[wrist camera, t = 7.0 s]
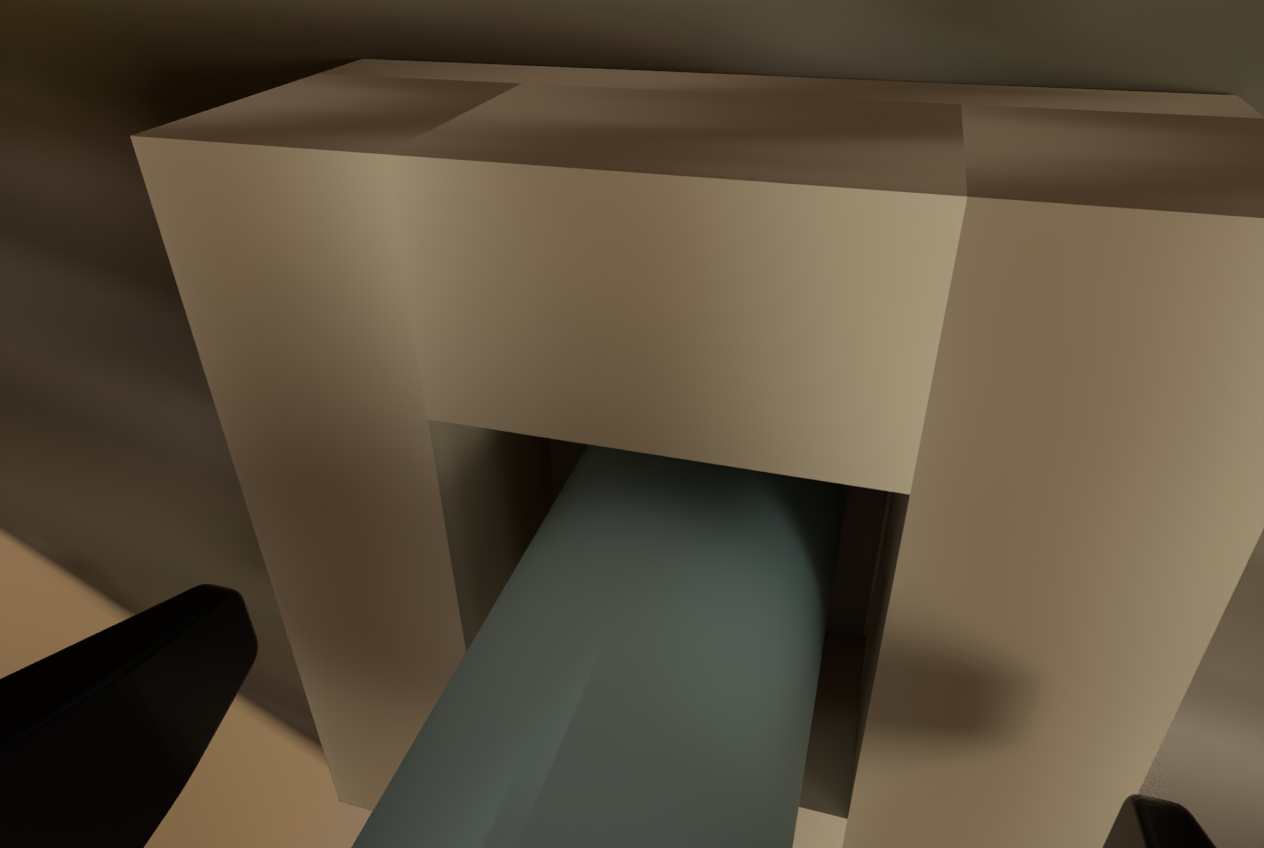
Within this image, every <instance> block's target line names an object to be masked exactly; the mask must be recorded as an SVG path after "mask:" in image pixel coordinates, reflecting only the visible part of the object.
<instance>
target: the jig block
mask: <svg viewBox="0 0 1264 848" xmlns="http://www.w3.org/2000/svg"><path fill="white" fill-rule="evenodd" d="M130 137H131V140H132V143H133V146H134V150H135V153H136V156H137V159H138V162H139V166H140V169H141V172H142V175H143V178H144V181H145V185H146V188H147V191H148V194H149V197H150V201H151V204H152V207H153V210H154V213H155V216H156V220H157V223H158V226H159V229H160V232H161V236H162V239H163V242H164V245H165V248H166V251H167V255H168V258H169V261H170V264H171V267H172V270H173V274H174V277H175V280H176V283H177V286H178V290H179V293H180V296H181V299H182V302H183V305H184V309H185V312H186V315H187V318H188V321H189V325H190V328H191V331H192V334H193V337H194V340H195V344H196V347H197V350H198V353H199V356H200V360H201V363H202V366H203V369H204V372H205V375H206V379H207V382H208V385H209V388H210V391H211V395H212V398H213V401H214V404H215V407H216V410H217V414H218V417H219V420H220V423H221V426H222V429H223V433H224V436H225V439H226V442H227V445H228V449H229V452H230V455H231V458H232V461H233V464H234V468H235V471H236V474H237V477H238V480H239V484H240V487H241V490H242V493H243V496H244V499H245V503H246V506H247V509H248V512H249V515H250V519H251V522H252V525H253V528H254V531H255V534H256V538H257V541H258V544H259V547H260V550H261V553H262V557H263V560H264V563H265V566H266V569H267V573H268V576H269V579H270V582H271V585H272V588H273V592H274V595H275V598H276V601H277V604H278V608H279V611H280V614H281V617H282V620H283V623H284V627H285V630H286V633H287V636H288V639H289V643H290V646H291V649H292V652H293V655H294V658H295V662H296V665H297V668H298V671H299V674H300V677H301V681H302V684H303V687H304V690H305V693H306V697H307V700H308V703H309V706H310V709H311V712H312V716H313V719H314V722H315V725H316V728H317V732H318V735H319V738H320V741H321V744H322V747H323V751H324V754H325V757H326V760H327V763H328V767H329V770H330V773H331V776H332V779H333V782H334V786H335V789H336V792H337V795H338V798H339V801H341V802H344V803H347V804H351V805H354V806H358V807H362V808H365V809H368V810H372V811H373V810H374V808H375V807H376V805H377V803H378V802H379V800H380V798H381V796H382V795H383V793H384V791H385V790H386V788H387V786H388V785H389V783H390V781H391V779H392V778H393V776H394V774H395V773H396V771H397V769H398V767H399V766H400V764H401V762H402V761H403V759H404V757H405V756H406V754H407V752H408V750H409V749H410V747H411V745H412V744H413V742H414V740H415V739H416V737H417V735H418V733H419V732H420V730H421V728H422V727H423V725H424V723H425V722H426V720H427V718H428V716H429V715H430V713H431V711H432V710H433V708H434V706H435V704H436V703H437V701H438V699H439V698H440V696H441V694H442V693H443V691H444V689H445V687H446V686H447V684H448V682H449V681H450V679H451V677H452V676H453V674H454V672H455V670H456V669H457V667H458V665H459V664H460V662H461V660H462V659H463V657H464V655H465V653H466V652H467V650H468V648H469V647H470V645H471V643H472V642H473V640H474V638H475V636H476V635H477V633H478V631H479V630H480V628H481V626H482V624H483V623H484V621H485V619H486V618H487V616H488V614H489V613H490V611H491V609H492V607H493V606H494V604H495V602H496V601H497V599H498V597H499V596H500V594H501V592H502V590H503V589H504V587H505V585H506V584H507V582H508V580H509V579H510V577H511V575H512V573H513V572H514V570H515V568H516V567H517V565H518V563H519V562H520V560H521V558H522V556H523V555H524V553H525V551H526V550H527V548H528V546H529V544H530V543H531V541H532V539H533V538H534V536H535V534H536V533H537V531H538V529H539V527H540V526H541V524H542V522H543V521H544V519H545V517H546V516H547V514H548V512H549V510H550V509H551V507H552V505H553V504H554V502H555V500H556V499H557V497H558V495H559V493H560V492H561V490H562V488H563V487H564V485H565V483H566V481H567V480H568V478H569V476H570V475H571V473H572V471H573V470H574V468H575V466H576V464H577V463H578V461H579V459H580V458H581V456H582V454H583V453H584V451H585V449H586V447H587V446H588V444H590V445H596V446H602V447H609V448H615V449H622V450H628V451H634V452H641V453H647V454H654V455H660V456H666V457H673V458H679V459H686V460H692V461H698V462H705V463H711V464H718V465H724V466H730V467H737V468H743V469H750V470H756V471H762V472H769V473H775V474H782V475H788V476H794V477H801V478H807V479H814V480H820V481H826V482H833V483H839V484H844V491H845V504H844V514H843V521H842V527H841V534H840V540H839V547H838V553H837V560H836V567H835V573H834V580H833V586H832V593H831V599H830V606H829V612H828V619H827V625H826V632H825V638H824V645H823V651H822V658H821V665H820V671H819V678H818V684H817V691H816V697H815V704H814V710H813V717H812V723H811V730H810V736H809V743H808V749H807V756H806V762H805V769H804V776H803V782H802V789H801V795H800V802H799V808H798V815H797V821H796V828H795V834H794V841H793V847H792V848H1103V845H1104V843H1105V841H1106V839H1107V837H1108V834H1109V832H1110V830H1111V828H1112V826H1113V824H1114V821H1115V819H1116V817H1117V815H1118V813H1119V811H1120V808H1121V806H1122V804H1123V802H1124V801H1125V799H1126V798H1127V797H1128V796H1130V795H1132V794H1138V792H1139V790H1140V788H1141V786H1142V784H1143V782H1144V780H1145V778H1146V776H1147V773H1148V771H1149V769H1150V767H1151V765H1152V763H1153V761H1154V759H1155V757H1156V754H1157V752H1158V750H1159V748H1160V746H1161V744H1162V742H1163V740H1164V738H1165V735H1166V733H1167V731H1168V729H1169V727H1170V725H1171V723H1172V721H1173V718H1174V716H1175V714H1176V712H1177V710H1178V708H1179V706H1180V704H1181V702H1182V699H1183V697H1184V695H1185V693H1186V691H1187V689H1188V687H1189V685H1190V683H1191V680H1192V678H1193V676H1194V674H1195V672H1196V670H1197V668H1198V666H1199V664H1200V661H1201V659H1202V657H1203V655H1204V653H1205V651H1206V649H1207V647H1208V644H1209V642H1210V640H1211V638H1212V636H1213V634H1214V632H1215V630H1216V628H1217V625H1218V623H1219V621H1220V619H1221V617H1222V615H1223V613H1224V611H1225V609H1226V606H1227V604H1228V602H1229V600H1230V598H1231V596H1232V594H1233V592H1234V589H1235V587H1236V585H1237V583H1238V581H1239V579H1240V577H1241V575H1242V573H1243V570H1244V568H1245V566H1246V564H1247V562H1248V560H1249V558H1250V556H1251V554H1252V551H1253V549H1254V547H1255V545H1256V543H1257V541H1258V539H1259V537H1260V535H1261V532H1262V530H1263V528H1264V117H1263V116H1262V115H1261V114H1260V113H1258V112H1257V111H1256V110H1255V109H1253V108H1252V107H1251V106H1249V105H1248V104H1247V103H1246V102H1244V101H1243V100H1242V99H1241V98H1239V97H1238V96H1237V95H1215V94H1191V93H1167V92H1143V91H1119V90H1095V89H1071V88H1047V87H1023V86H1000V85H976V84H952V83H928V82H904V81H880V80H856V79H832V78H808V77H785V76H761V75H737V74H713V73H689V72H665V71H641V70H617V69H593V68H569V67H546V66H522V65H498V64H474V63H450V62H426V61H402V60H378V59H360V60H357V61H354V62H351V63H348V64H345V65H342V66H339V67H336V68H333V69H330V70H327V71H324V72H321V73H318V74H315V75H312V76H309V77H306V78H303V79H300V80H297V81H294V82H291V83H288V84H285V85H282V86H279V87H276V88H273V89H270V90H267V91H264V92H261V93H258V94H255V95H252V96H249V97H246V98H243V99H240V100H237V101H234V102H231V103H228V104H225V105H222V106H219V107H216V108H213V109H210V110H207V111H204V112H201V113H198V114H195V115H192V116H189V117H186V118H183V119H180V120H177V121H174V122H171V123H168V124H165V125H162V126H159V127H156V128H153V129H150V130H147V131H144V132H141V133H138V134H135V135H132V136H130Z"/></svg>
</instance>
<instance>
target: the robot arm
mask: <svg viewBox="0 0 1264 848" xmlns="http://www.w3.org/2000/svg"><path fill="white" fill-rule="evenodd" d="M257 650H258V641H257V637H256V634H255V631H254V628H253V625H252V622H251V619H250V617H249V614H248V611H247V608H246V605H245V602H244V599H243V597H242V595H241V594H240V593H239V592H238V591H236V590H234V589H230V588H226V587H221V586H217V585H213V584H202V585H198V586H196V587H194V588H191V589H189V590H187V591H185V592H183V593H181V594H179V595H177V596H175V597H172V598H170V599H168V600H166V601H164V602H162V603H160V604H158V605H156V606H153V607H151V608H149V609H147V610H145V611H143V612H141V613H139V614H137V615H134V616H132V617H130V618H128V619H126V620H124V621H122V622H120V623H118V624H115V625H113V626H111V627H109V628H107V629H105V630H103V631H101V632H99V633H96V634H95V635H92V636H90V637H88V638H86V639H84V640H82V641H80V642H77V643H75V644H73V645H71V646H69V647H67V648H65V649H63V650H61V651H59V652H57V653H55V654H52V655H50V656H48V657H46V658H44V659H42V660H40V661H37V662H35V663H33V664H31V665H29V666H27V667H25V668H23V669H21V670H19V671H16V672H14V673H12V674H10V675H8V676H6V677H4V678H2V679H0V848H144V846H145V845H146V843H147V842H148V840H149V839H150V837H151V836H152V835H153V833H154V832H155V830H156V829H157V827H158V826H159V824H160V823H161V821H162V820H163V818H164V817H165V816H166V814H167V812H168V811H169V810H170V808H171V807H172V805H173V804H174V802H175V801H176V799H177V798H178V796H179V794H180V793H181V791H182V790H183V788H184V787H185V785H186V783H187V782H188V780H189V778H190V777H191V775H192V773H193V771H194V770H195V768H196V766H197V765H198V763H199V761H200V759H201V757H202V756H203V754H204V752H205V750H206V749H207V747H208V745H209V743H210V741H211V740H212V737H213V736H214V734H215V732H216V731H217V729H218V727H219V725H220V723H221V721H222V720H223V718H224V716H225V714H226V712H227V711H228V709H229V707H230V705H231V704H232V702H233V700H234V698H235V696H236V695H237V693H238V691H239V689H240V687H241V686H242V684H243V682H244V680H245V678H246V677H247V675H248V673H249V671H250V669H251V668H252V666H253V664H254V661H255V658H256V655H257ZM1103 848H1216V847H1215V845H1214V844H1213V842H1212V841H1211V840H1210V838H1209V837H1208V836H1207V834H1206V833H1205V832H1204V830H1203V829H1202V828H1201V826H1200V825H1199V823H1198V822H1197V821H1196V819H1195V818H1194V817H1193V815H1192V814H1191V813H1190V812H1189V811H1188V810H1187V809H1186V808H1184V807H1183V806H1182V805H1180V804H1177V803H1175V802H1171V801H1167V800H1162V799H1158V798H1154V797H1149V796H1145V795H1140V794H1132V795H1130V796H1128V797H1127V798H1126V799H1125V801H1124V802H1123V804H1122V806H1121V808H1120V811H1119V813H1118V815H1117V817H1116V819H1115V821H1114V824H1113V826H1112V828H1111V830H1110V832H1109V834H1108V837H1107V839H1106V841H1105V843H1104V845H1103Z"/></svg>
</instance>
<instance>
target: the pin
mask: <svg viewBox="0 0 1264 848" xmlns="http://www.w3.org/2000/svg"><path fill="white" fill-rule="evenodd" d="M844 504H845V491H844V484H839V483H833V482H826V481H820V480H814V479H807V478H801V477H794V476H788V475H782V474H775V473H769V472H762V471H756V470H750V469H743V468H737V467H730V466H724V465H718V464H711V463H705V462H698V461H692V460H686V459H679V458H673V457H666V456H660V455H654V454H647V453H641V452H634V451H628V450H622V449H615V448H609V447H602V446H596V445H590V444H588V446H587V447H586V449H585V451H584V453H583V454H582V456H581V458H580V459H579V461H578V463H577V464H576V466H575V468H574V470H573V471H572V473H571V475H570V476H569V478H568V480H567V481H566V483H565V485H564V487H563V488H562V490H561V492H560V493H559V495H558V497H557V499H556V500H555V502H554V504H553V505H552V507H551V509H550V510H549V512H548V514H547V516H546V517H545V519H544V521H543V522H542V524H541V526H540V527H539V529H538V531H537V533H536V534H535V536H534V538H533V539H532V541H531V543H530V544H529V546H528V548H527V550H526V551H525V553H524V555H523V556H522V558H521V560H520V562H519V563H518V565H517V567H516V568H515V570H514V572H513V573H512V575H511V577H510V579H509V580H508V582H507V584H506V585H505V587H504V589H503V590H502V592H501V594H500V596H499V597H498V599H497V601H496V602H495V604H494V606H493V607H492V609H491V611H490V613H489V614H488V616H487V618H486V619H485V621H484V623H483V624H482V626H481V628H480V630H479V631H478V633H477V635H476V636H475V638H474V640H473V642H472V643H471V645H470V647H469V648H468V650H467V652H466V653H465V655H464V657H463V659H462V660H461V662H460V664H459V665H458V667H457V669H456V670H455V672H454V674H453V676H452V677H451V679H450V681H449V682H448V684H447V686H446V687H445V689H444V691H443V693H442V694H441V696H440V698H439V699H438V701H437V703H436V704H435V706H434V708H433V710H432V711H431V713H430V715H429V716H428V718H427V720H426V722H425V723H424V725H423V727H422V728H421V730H420V732H419V733H418V735H417V737H416V739H415V740H414V742H413V744H412V745H411V747H410V749H409V750H408V752H407V754H406V756H405V757H404V759H403V761H402V762H401V764H400V766H399V767H398V769H397V771H396V773H395V774H394V776H393V778H392V779H391V781H390V783H389V785H388V786H387V788H386V790H385V791H384V793H383V795H382V796H381V798H380V800H379V802H378V803H377V805H376V807H375V808H374V810H373V812H372V813H371V815H370V817H369V819H368V820H367V822H366V824H365V825H364V827H363V829H362V831H361V832H360V834H359V836H358V837H357V839H356V841H355V842H354V844H353V846H352V847H351V848H792V847H793V841H794V834H795V828H796V821H797V815H798V808H799V802H800V795H801V789H802V782H803V776H804V769H805V762H806V756H807V749H808V743H809V736H810V730H811V723H812V717H813V710H814V704H815V697H816V691H817V684H818V678H819V671H820V665H821V658H822V651H823V645H824V638H825V632H826V625H827V619H828V612H829V606H830V599H831V593H832V586H833V580H834V573H835V567H836V560H837V553H838V547H839V540H840V534H841V527H842V521H843V514H844Z"/></svg>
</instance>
